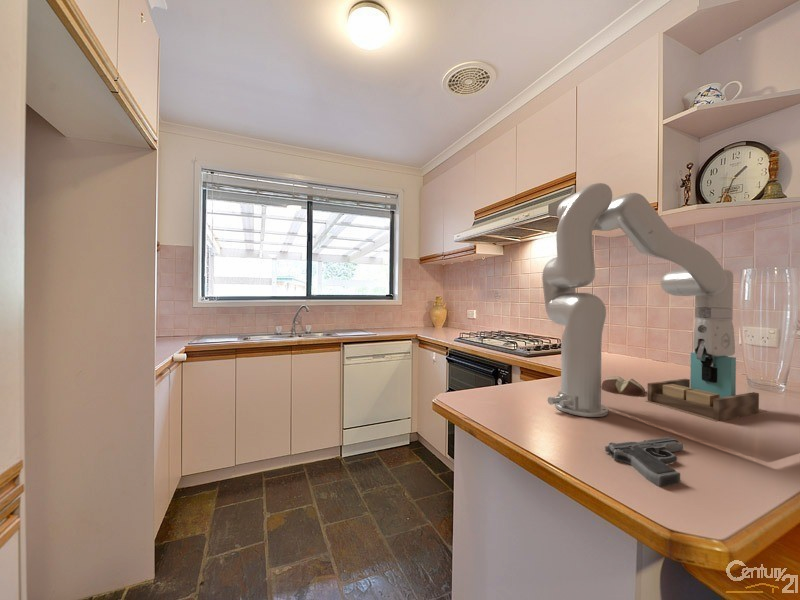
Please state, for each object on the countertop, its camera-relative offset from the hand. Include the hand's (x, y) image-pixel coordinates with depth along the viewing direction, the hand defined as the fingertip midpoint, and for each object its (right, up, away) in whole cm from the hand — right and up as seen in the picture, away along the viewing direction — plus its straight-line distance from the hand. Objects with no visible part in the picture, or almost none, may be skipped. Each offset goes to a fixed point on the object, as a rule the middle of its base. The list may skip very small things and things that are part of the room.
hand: (711, 380), depth 89 cm
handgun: (-38, -8, -30) cm, 49 cm away
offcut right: (-8, -7, -6) cm, 12 cm away
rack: (-4, -8, -1) cm, 8 cm away
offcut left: (-10, -7, -1) cm, 12 cm away
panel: (0, -6, 0) cm, 6 cm away
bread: (-16, -8, +13) cm, 22 cm away
